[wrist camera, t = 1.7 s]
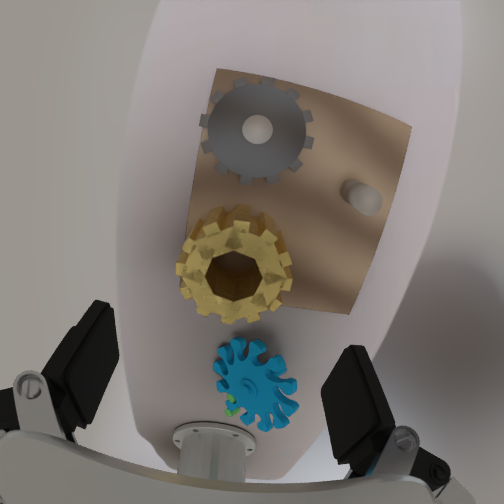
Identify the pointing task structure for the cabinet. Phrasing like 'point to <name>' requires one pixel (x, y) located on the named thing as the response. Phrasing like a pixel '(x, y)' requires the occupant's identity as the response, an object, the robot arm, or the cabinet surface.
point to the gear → (255, 384)
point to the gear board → (300, 179)
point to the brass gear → (226, 282)
